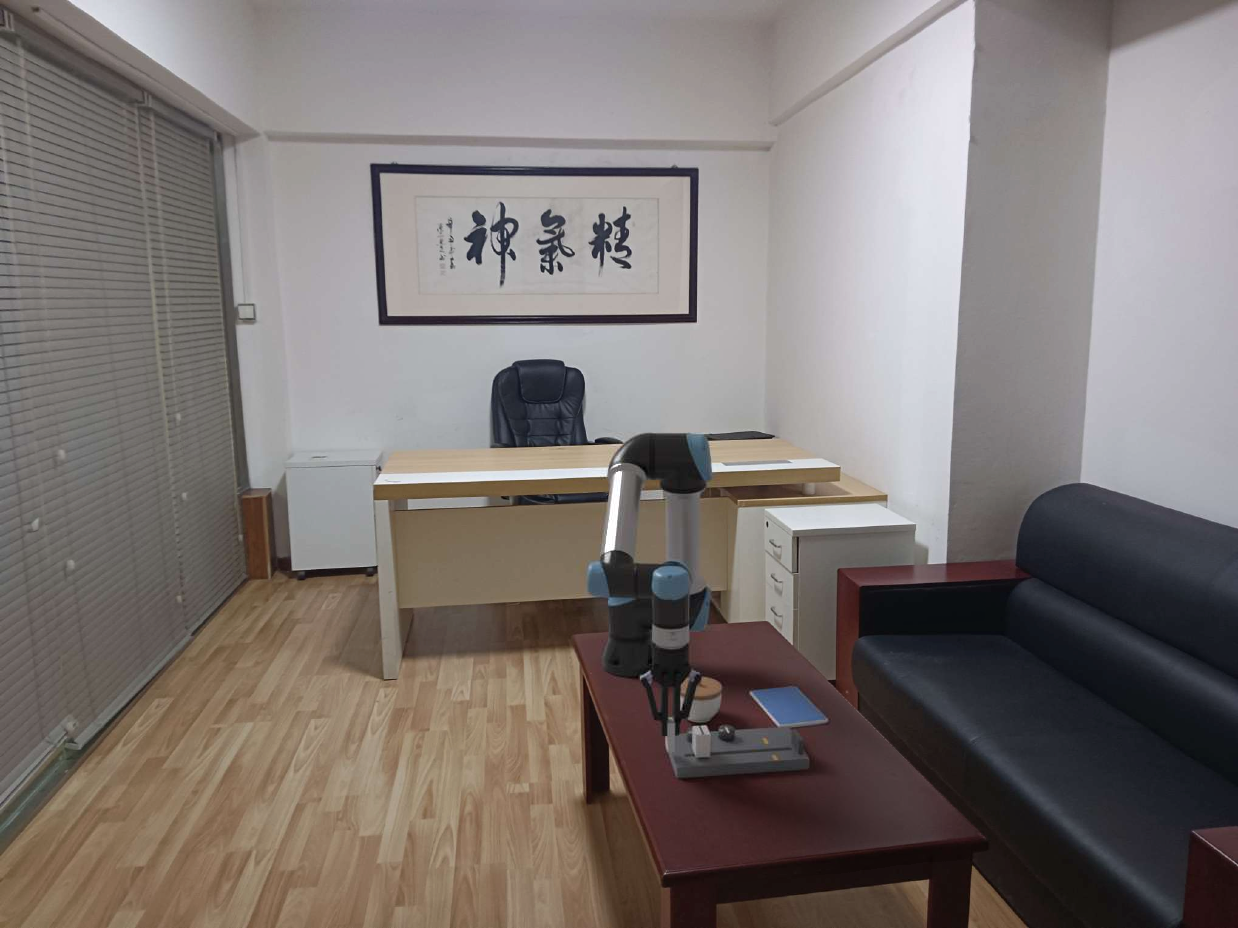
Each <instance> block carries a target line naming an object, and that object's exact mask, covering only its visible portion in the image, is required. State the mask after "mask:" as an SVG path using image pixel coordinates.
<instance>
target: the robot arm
mask: <svg viewBox="0 0 1238 928" xmlns="http://www.w3.org/2000/svg"><path fill="white" fill-rule="evenodd" d="M710 449H711V448H710V444H709V440H708V438H707V436H706V435H705V434H701V433H691V432H686V433H685V432H679V433H678V432H677V433H676V432H669V433H668V432H659V433H658V432H654V433H653V432H644V433H640V434H636V435H635V436H632V437H631V438H629V439H628V440H627V441H625V442H624V443H623V444H622V445H621V446H619V448H618V449H617V451H615V453H614V455H613V456H612V458H611V460H610V462H609V465H608V468H607V474H606V475H607V476H606V480H607V482H608V484H609V492H608V499H607V506H606V510H605V511H606V512H605V518H604V519H605V520H604V526H603V532H602V533H603V534H602V539H601V540H602V541H601V548H600V556H599V560H597V561H592V562H590V563H589V564H588V567H587V570H586V571H587V573H586V587H587V592H588V594H589V595H590V596H592V597H595V598H606V599H608V602H607V605H608V639H607V643H606V646H605V649H604V652H603V655H602V667H603V669H604V670H605V671H606V672H607V673H610V674H612V675H615V676H619V677H630V678H631V677H633V678H635V677H638V678H639V680H640V683H641V685H642V686H643V687H644V688H645V691H646V692H645V693H646V696H647V700H648V703H649V707H650V711H651V715H652V718H653V720H654V721H655V722H657V721H659V722H660V733H661V736H662V737H665V736H666V745H665V748H666V752H667V753H671V752H675V736H677V735H679V734H681V733H680V732H681V723H682V720H688V719H687V718H688V717H689V714H690V710H691V706H692V703H693V699H694V695H695V691H696V687H697V685H698V684H699V682H700V681H701V679H702V677H703V676H702V675H701V673H700V671H699V670H694V669H692V666H691V665H690V644H689V641H690V633H691V632H702V631H704V630H705V629H706V627H707V624H708V619H709V613H710V604H711V595H712V590H711V589H712V588H711V587H710V586H706V581H705V579H704V577H702V576H701V574H700V573H701V569H700V568H701V567H700V566H701V564H700V562H701V559H700V558H701V551H700V550H701V494H702V493H703V492H704V491H706V488H707V483H709V482H712V480H713V468H712V466H713V465H712V457H711V450H710ZM647 481H659V489H660V490H661V491H663V492H664V493H665V551H666V553H665V555H666V556H665V557H666V558H665V559H666V560H664V561H663V562H662V563H650V562H648V563H643V562H635V557H636V547H637V546H636V545H637V536H638V528H639V527H638V526H639V518H640V509H641V507H640V506H641V497H642V489H644V488H645V486H646V484H647ZM688 677H689V682H688V686H687V690H686V694H685V697H684V701H683V705H682V709H681V711H680V692H681V684H682V683H683V682H684V681H685V679H686V678H688ZM653 678H654V679H655V681H656V682H657V683H658V684H659V688H660V694H659V695H660V697H659V698H660V700H659V701H660V702H659V703H660V705H659V706H660V707H659V708H660V709H659V711H658V708H657V703H656V699H655V694H654V692H653V688H652V686H651V684H652V683H653ZM670 687H672V717H671V716H670V717H669V691H670V690H669V688H670Z"/></svg>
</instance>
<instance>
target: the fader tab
mask: <svg viewBox="0 0 1238 928" xmlns="http://www.w3.org/2000/svg"><path fill="white" fill-rule="evenodd" d="M691 727H692V749H693V751H694V754H695V756H696V758H699V757H710V736H711V734H710V732H711V731H710V730H709V727H708V726H707V725H693V726H691Z"/></svg>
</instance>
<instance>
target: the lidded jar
mask: <svg viewBox="0 0 1238 928" xmlns="http://www.w3.org/2000/svg"><path fill="white" fill-rule="evenodd" d="M701 677H702V679H701V681H700V682H699V684H698V685H697V687H696V691H695V695H694V699H693V703H692V706H691V710H690V714H689V717H688V718H687V719H686V720H688V721H690V722H693V723H697V724H699V723H701V724H703V723H707V722H710V721H711V720H712V719H713V717H714V716H716V714H717V713H718V711H720V710H719V709H720V707H721V704H722V693H723V685H722V684H721V682H719V681H718V680H716V679H713V678H711V677H708V676H707V677H706V676H701ZM688 682H689V676H688V677H687V678H686V679H685V681H684V682H683V683H682V684H681V692H680V711H681V709H682V705H683V701H684V697H685V694H686V690H687V686H688Z"/></svg>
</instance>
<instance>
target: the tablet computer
mask: <svg viewBox="0 0 1238 928" xmlns="http://www.w3.org/2000/svg"><path fill="white" fill-rule="evenodd" d="M749 696H751V698H752V699H754V700H755V702H756V703H757V704H758V705H759V706H760V707H761V708H762V710H763V711H764V712H765V713H766V714H767V715H768V717H769V718H770V719H771V720H772V721H773V723H774V724H775V725H776V726H777V727H790V729H792V728H799V727H807V726H817V725H821V724H822V725H823V724H826V723H829V719H828V718H827V717H826V716H825V715H824V713H822V712H821V711H820V710H819V708H817V707H816V706H815V704H813V703H812V701H811V700H810V699H809V698H808V697H807V696H806V695H804V694H803V692H802V691H800V689H799V688H798V687H797V686H793V685H792V686H790V685H789V686H784V687H774V688H773V687H772V688H764V689H754V690H750V691H749Z"/></svg>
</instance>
